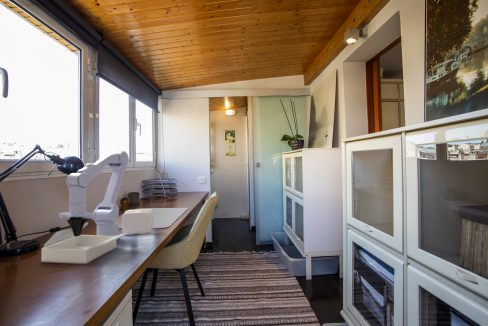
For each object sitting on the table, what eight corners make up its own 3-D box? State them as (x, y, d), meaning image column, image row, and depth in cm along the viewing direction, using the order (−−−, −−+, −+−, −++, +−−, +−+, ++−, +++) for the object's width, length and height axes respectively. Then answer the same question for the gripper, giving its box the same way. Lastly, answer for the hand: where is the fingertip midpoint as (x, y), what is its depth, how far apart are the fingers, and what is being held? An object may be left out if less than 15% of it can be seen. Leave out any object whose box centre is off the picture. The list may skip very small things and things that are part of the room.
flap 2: (130, 231, 107) (131, 232, 107) (115, 235, 107) (116, 236, 107) (106, 243, 90) (106, 244, 90) (88, 248, 91) (88, 249, 91)
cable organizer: (120, 235, 126) (120, 213, 126) (124, 230, 137) (124, 209, 137) (151, 233, 130) (151, 211, 130) (153, 228, 140) (153, 208, 141)
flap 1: (56, 233, 92) (55, 232, 92) (44, 246, 93) (43, 245, 93) (88, 223, 109) (87, 222, 109) (77, 234, 109) (77, 233, 109)
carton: (78, 246, 110) (78, 234, 110) (116, 247, 108) (116, 236, 108) (41, 261, 92) (41, 248, 92) (86, 263, 90) (86, 250, 90)
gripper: (52, 203, 97) (52, 238, 97) (87, 204, 96) (86, 239, 96) (67, 201, 104) (67, 233, 104) (99, 201, 103) (99, 234, 103)
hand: (77, 235), depth 100 cm, fingers closed
